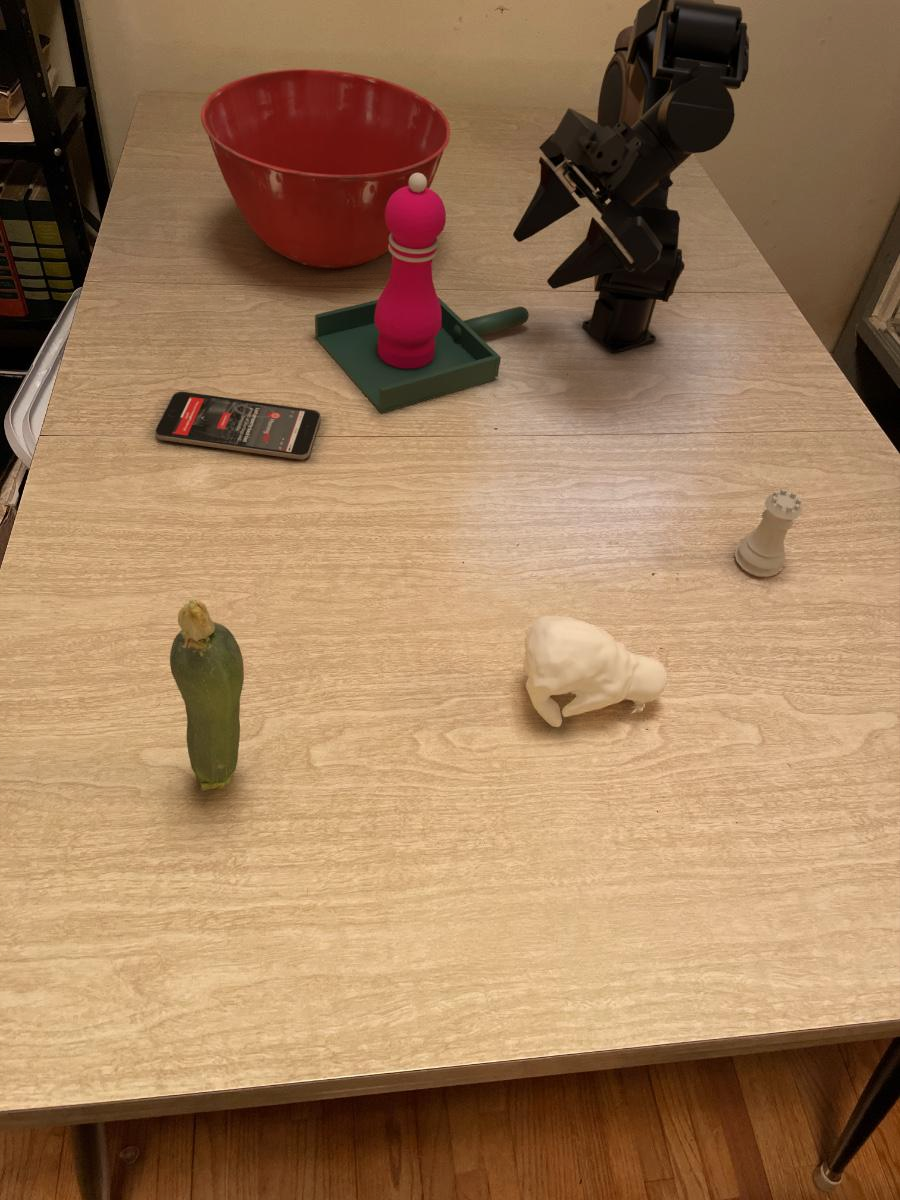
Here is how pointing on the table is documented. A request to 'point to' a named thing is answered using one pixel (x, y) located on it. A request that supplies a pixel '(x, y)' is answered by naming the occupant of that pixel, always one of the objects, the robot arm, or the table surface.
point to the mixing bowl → (321, 158)
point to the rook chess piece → (769, 536)
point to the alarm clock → (618, 87)
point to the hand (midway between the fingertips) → (532, 261)
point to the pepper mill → (411, 277)
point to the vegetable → (208, 693)
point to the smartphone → (239, 425)
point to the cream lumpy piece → (585, 669)
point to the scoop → (392, 388)
